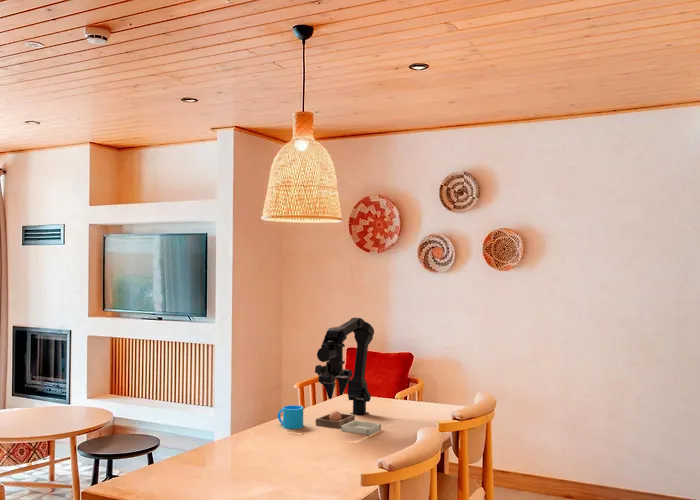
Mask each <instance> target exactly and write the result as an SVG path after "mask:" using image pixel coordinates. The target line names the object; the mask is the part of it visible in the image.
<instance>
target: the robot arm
mask: <svg viewBox="0 0 700 500" xmlns="http://www.w3.org/2000/svg"><path fill="white" fill-rule="evenodd" d="M352 332H353V335H354V337H353V338H354V340H355V342H356V351H355V352H356V353H355V361H354V371H353V370H352V369H346V368H343V365H345V364H346V362H345V360H343V357H344V355H343V351H344V349H343V348H344V347H345V346H346V345H345V343H344V342H345V340H347V339H348V335H350V334H351V333H352ZM374 335H375V329H374V327H373V326H372V325H371V323H368V322H367V321H366V320H364V319H363V318H361V317H351V318H350V319H349V320H348V321H346V322H344V323H343V324H341V325H339V326H334V327H330V328H328V329H327V330H326V332H325V335H324V337H323V341H322V344H321V346H320V348H319V349H318V350H317V353H316V356H317V360H318V361H319V362H320V363H326V364H325V365H321V364H317V365H315V368H314V369H315V370H314V373H315V374H317V376H318V378H317V382H318V383H319V384H322V386H324V389H325V392H326V394H327V398H328V400H332V398H333V394H334V391H335V388H336V380H337V382H338V389H339V396H343V395H344V392H345V391H346V388H347V398H348V401H352V412H350V414H349V415H356V416H366V415H369V414H370V412H369V411H367V403H368V402H370V401H371V398H372V396H371V393H370V391H369V390H368V383H367V381H366V379H365V378H366V377H365V376H366V369H367V368H366V366H367V359H368V358H367V357H368V352H369V350H368V349H369V345H370V343H371V342H372V341H373V338H374Z"/></svg>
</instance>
